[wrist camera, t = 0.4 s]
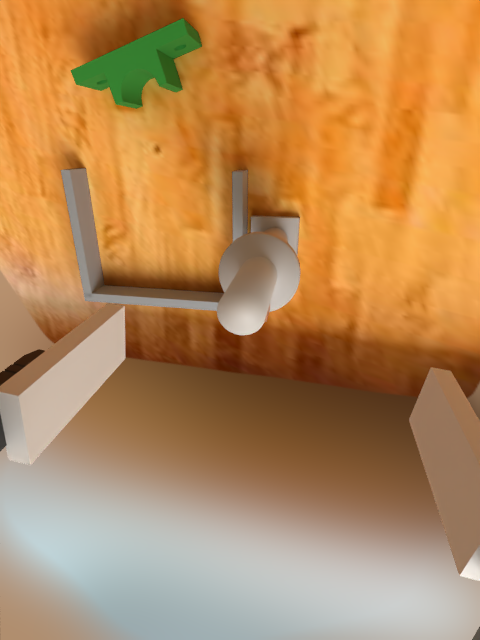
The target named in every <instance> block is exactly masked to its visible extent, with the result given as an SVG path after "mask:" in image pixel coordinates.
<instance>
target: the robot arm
mask: <svg viewBox="0 0 480 640" xmlns="http://www.w3.org/2000/svg"><path fill="white" fill-rule="evenodd" d="M124 359H125V306H122V305H117V304H112V303H107V304H106V305H105V306H103V307H102V308H101V309H99V310H98V311H97V312H96V313H94V314H93V315H92V316H90V317H89V318H88V319H86V320H85V321H84V322H83V323H81V324H80V325H79V326H77V327H76V328H75V329H73V330H72V331H71V332H70V333H68V334H67V335H66V336H64V337H63V338H62V339H60V340H59V341H58V342H57V343H55V344H54V345H53V346H51V347H50V348H49V349H48V350H46V351H44V350H36V351H34V352H31V353H29V354H26V355H24V356H23V357H21V358H20V359H19V360H17V361H16V362H14V364H13V365H10V366H9V367H8V368H7V369H5V371H2V372H1V373H0V451H1V450H2V449H3V448H4V447H5V446H6V449H7V454H8V459H9V460H12V461H17V462H20V463H24V464H28V465H31V464H32V463H33V462H34V460H35V459H36V458H37V457H38V456H39V455H40V454H41V452H42V451H43V450H44V449H45V448H46V447H47V446H48V445H49V444H50V443H51V441H52V440H53V439H54V438H55V437H56V436H57V435H58V434H59V432H60V431H61V430H62V429H63V428H64V427H65V426H66V424H67V423H68V422H69V421H70V420H71V419H72V418H73V417H74V416H75V414H76V413H77V412H78V411H79V410H80V409H81V408H82V407H83V405H84V404H85V403H86V402H87V401H88V400H89V399H90V397H91V396H92V395H93V394H94V393H95V392H96V391H97V390H98V389H99V387H100V386H101V385H102V384H103V383H104V381H106V380H107V378H108V377H109V376H110V375H111V374H112V373H113V372H114V371H115V369H116V368H117V367H118V366H119V365H120V364H121V363H122V361H123V360H124ZM409 421H410V424H411V428H412V431H413V433H414V436H415V440H416V443H417V446H418V449H419V452H420V455H421V458H422V461H423V464H424V468H425V471H426V474H427V477H428V480H429V483H430V486H431V489H432V492H433V496H434V498H435V502H436V505H437V508H438V511H439V514H440V517H441V520H442V523H443V526H444V529H445V533H446V536H447V539H448V542H449V545H450V548H451V551H452V554H453V557H454V560H455V563H456V566H457V570H458V573H459V575H460V576H463V577H467V578H470V579H474V580H478V581H480V421H479V419H478V418H477V416H476V414H475V412H474V411H473V409H472V407H471V405H470V404H469V402H468V400H467V398H466V397H465V395H464V393H463V391H462V390H461V388H460V386H459V385H458V383H457V381H456V379H455V378H454V376H453V374H452V372H451V371H447V370H442V369H437V368H432V367H431V369H430V371H429V373H428V376H427V378H426V381H425V383H424V385H423V388H422V390H421V392H420V395H419V397H418V400H417V402H416V404H415V407H414V409H413V411H412V414H411V416H410V419H409ZM472 640H480V627H479V629H478V630H477V632H476V634H475V636H474V637H473V639H472Z"/></svg>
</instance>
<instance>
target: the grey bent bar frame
mask: <svg viewBox="0 0 480 640" xmlns="http://www.w3.org/2000/svg"><path fill="white" fill-rule="evenodd" d="M61 173H62V179H63V184H64V189H65V195H66V200H67V206H68V211H69V216H70V222H71V227H72V233H73V238H74V243H75V249H76V254H77V259H78V265H79V270H80V276H81V281H82V286H83V292H84V297H85V301H93V302H107V303H120V304H134V305H147V306H161V307H174V308H188V309H201V310H215V311H217V315H218V319H219V321H220V323H221V324H222V325H223V327H224V328H226V329H227V330H228V331H230V332H232V333H234V334H237V335H249V334H252V333H254V332H256V331H258V330H259V329H260V328H261V327H262V325H263V323H264V322H266V321H267V318H268V314H269V312H271V311H274V310H277V309H279V308H281V307H283V306H284V305H285V304H287V303H288V302H289V301H290V300H291V298H292V297H293V296H294V294H295V292H296V290H297V288H298V284H299V279H300V263H299V260H298V257H297V251H298V236H299V220H300V217H284V216H251V233H248V234H247V224H248V170H236V171H233V172H232V201H233V242H232V244H231V245H230V246H229V247H228V248H227V249H226V251H225V252H224V254H223V256H222V258H221V261H220V265H219V279H220V284H221V286H222V289H223V291H224V292H225V293H216V292H200V291H185V290H170V289H155V288H140V287H125V286H109V285H104V279H103V273H102V267H101V261H100V254H99V248H98V242H97V236H96V229H95V223H94V217H93V210H92V204H91V198H90V192H89V185H88V179H87V173H86V168H76V169H65V170H61Z"/></svg>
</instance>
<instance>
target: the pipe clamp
mask: <svg viewBox="0 0 480 640" xmlns="http://www.w3.org/2000/svg"><path fill="white" fill-rule="evenodd" d="M200 47H202V44H201V41H200V37H199V34H198V32H197V31H196V30H195V29H194V28H193V27H192V26H191V25H190V24H189V23H188V22H187V21H186V20H184V19H183V18H182V19H180V20H178V21H176V22H174V23H172V24H169V25H167V26H165V27H163V28H161V29H159V30H157V31H154V32H152V33H150V34H148V35H146V36H144V37H142V38H139V39H137V40H135V41H133V42H131V43H129V44H127V45H124V46H122V47H120V48H118V49H116V50H114V51H112V52H109V53H107V54H105V55H103V56H101V57H99V58H97V59H94V60H92V61H90V62H88V63H86V64H84V65H82V66H80V67H77V68H75V69H73V70H71V73H72V75H73V78H74V80H75V83H76V85H80V86H84V87H88V88H92V89H96V90H100V91H102V90H104V89H106V88H108V87H110V90H111V92H112V95H113V98H114V101H115V103H116V104H117V105H122V106H127V107H131V108H136V109H137V108H139V107H141V106H143V105H142V100H141V94H142V90H143V87H144V85H145V84H146V82H147V81H149V80H150V79H152V78H154V77H155V78H156V80H157V82H158V84H159V86H160V87H163V88H166V89H168V90H171V91H174V92H178V91H181V90H183V89H182V85H181V82H180V79H179V76H178V72H177V69H176V66H175V63H174V59H175V58H177V57H179V56H182V55H184V54H186V53H188V52H191V51H193V50H195V49H198V48H200Z"/></svg>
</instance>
